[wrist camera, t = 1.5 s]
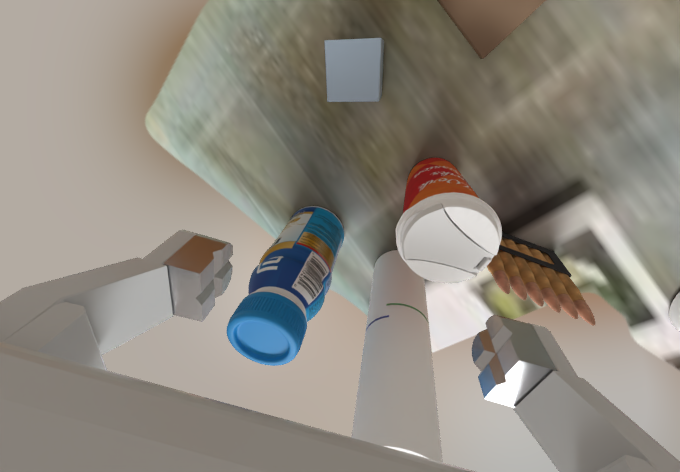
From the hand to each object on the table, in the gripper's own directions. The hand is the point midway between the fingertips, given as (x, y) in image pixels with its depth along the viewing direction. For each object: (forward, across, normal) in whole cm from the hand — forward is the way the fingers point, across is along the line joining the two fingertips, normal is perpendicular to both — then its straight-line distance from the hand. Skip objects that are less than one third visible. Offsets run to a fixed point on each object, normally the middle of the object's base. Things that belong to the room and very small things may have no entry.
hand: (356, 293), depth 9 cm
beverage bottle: (+29, +5, +16) cm, 34 cm away
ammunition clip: (+28, -21, +10) cm, 36 cm away
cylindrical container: (+29, -8, +19) cm, 35 cm away
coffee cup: (+28, -8, +4) cm, 30 cm away
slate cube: (+29, +4, -5) cm, 29 cm away
